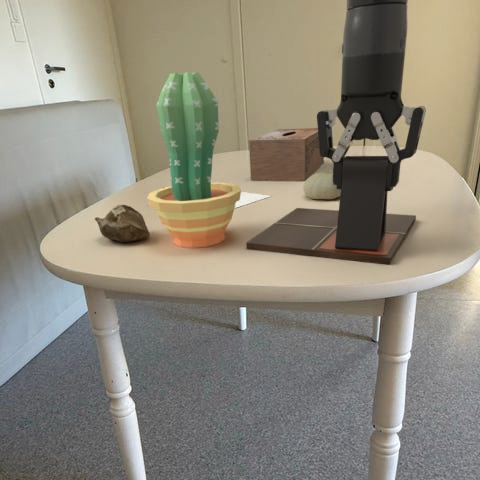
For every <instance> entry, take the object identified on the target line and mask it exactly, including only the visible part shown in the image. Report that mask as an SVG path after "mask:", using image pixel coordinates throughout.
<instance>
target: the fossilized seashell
mask: <svg viewBox="0 0 480 480" xmlns="http://www.w3.org/2000/svg"><path fill="white" fill-rule="evenodd" d="M94 221H96V223H97V226H98V229H99V232H100V233H101V236H103V237H104V238H106V239H108V240H115V241H117V242H121V243H131V242H137V241H140V240H143V239H145V238H146V237H150V231H149V229H148V226H147V224H146V221H145V219H144V216H143V214H141V212H139V211H138V210H137V209H135V208H134V207H131V206H130V205H126V204H117V205H116V206H114V207H113V208H112V209H110V210H109V212H108V213H107V214H106V215H105V217H103V218H100V217H98V216H97V217H94Z"/></svg>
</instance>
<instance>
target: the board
mask: <svg viewBox="0 0 480 480" xmlns="http://www.w3.org/2000/svg"><path fill="white" fill-rule="evenodd" d="M338 213H339V209H338V210H335V209H322V208H321V209H319V208H306V207H296V208H294V209H293V210H292V211H290V212H289V213H287V214H286V215H284V216H283V217H282V218H280V219H278V220H277V221H276V222H273V224H271V225H270V226H268V227H267V228H265V229H264V230H262V231H261V232H259V233H258V234H257V235H255V236H254V237H252V238H251V239H250V240H248V241H247V242H245V245H246V248H245V249H247V250H257V251H264V252H265V251H266V252H274V253H282V254H283V253H284V254H293V255H299V256H300V255H302V256H310V257H319V258H327V259H336V260H345V261H355V262H362V263H373V264H381V265H391V264H392V262H393V260H394V259H395V257H396V256H397V254H398V252H399V250H400V248H401V246H402V245H403V243H404V242H405V240H406V238H407V237H408V234H409V233H410V231H411V229H412V227H413V226H414V225H415V223H416V221H417V215H415V214H399V213H386V231H385V235H384V237H383V240H382V242H381V245H380V247H379V249H378V251H365V250H351V249H337V248H335V242H336V232H337V223H338Z"/></svg>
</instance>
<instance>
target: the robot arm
mask: <svg viewBox="0 0 480 480" xmlns="http://www.w3.org/2000/svg"><path fill="white" fill-rule="evenodd" d="M408 3H409V0H346V14H345V21H344V26H343V27H344V28H343V38H342V45H341V54H342V59H341V60H342V61H341V62H342V63H341V84H340V85H341V87H340V88H341V89H340V102H339V104H338V107H337V108H334V109H330V110H329V109H323V110H320V111H318V112H317V114H316V123H317V128H318V136H319V148H320V155H321V156H322V157H324V158H326V159H329V160H331V161H332V174H333V184H334V185H337V186H336V188H337V189H341V185H342V167H343V160H344V157H346V156H347V154H348V152H349V150H350V149H351V147H352V145H353V143H354V142H355V141H361V140H370V141H378V140H380V143H381V145H382V147H383V149H384V151H385V153H386V156H388V158H389V160H390V162H389V163H388V164H387V175H386V186H385V191H388V192H392V190H393V189H394V188H396V187H397V185H398V184H399V181H400V174H401V163H402V161H403V160H406V159H411V158H412V157H413V156H414V155H415V154H416V153H417V150H418V146H419V142H420V138H421V133H422V129H423V124H424V120H425V116H426V112H427V110H426V107H425V106H424V105H420V106H417V107H416V106H405V105H404V103H403V101H402V90H403V79H404V70H405V69H404V68H405V58H406V49H407V48H406V47H407V37H408ZM402 116H403V117H404V118H405V119H404V121H405V124H406V125H407V126H409V128H408V133H407V137H406V142H405V146H404V148H400V146H399V143H398V138H397V136H396V133H395V130H394V128H393V127H394V126H395V125H396V123H397V122H398V120H399V119H400V118H401V117H402ZM337 118H338V120H339V121H340V124H341V125H342V126H343V128H344V130H343V132H342V135H341V136H340V138H339V141H338V142H337V143H338V144H337V146H336V148H335V147H334V141H333V126H335V124H336V120H337Z"/></svg>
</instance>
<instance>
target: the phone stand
mask: <svg viewBox="0 0 480 480" xmlns="http://www.w3.org/2000/svg"><path fill="white" fill-rule="evenodd" d="M389 162H390V160H389V158H388V155H346V156H345V157H344V160H343V167H342V185H341V194H340V197H339V203H338V204H339V205H338V211H339V213H338V223H337V232H336V242H335V248H337V249H351V250H365V251H378V249H379V247H380V245H381V242H382V240H383V237H384V235H385V231H386V214H387V212H388V211H387V209H388V193H389V191H385V186H386V175H387V164H388V163H389Z"/></svg>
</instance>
